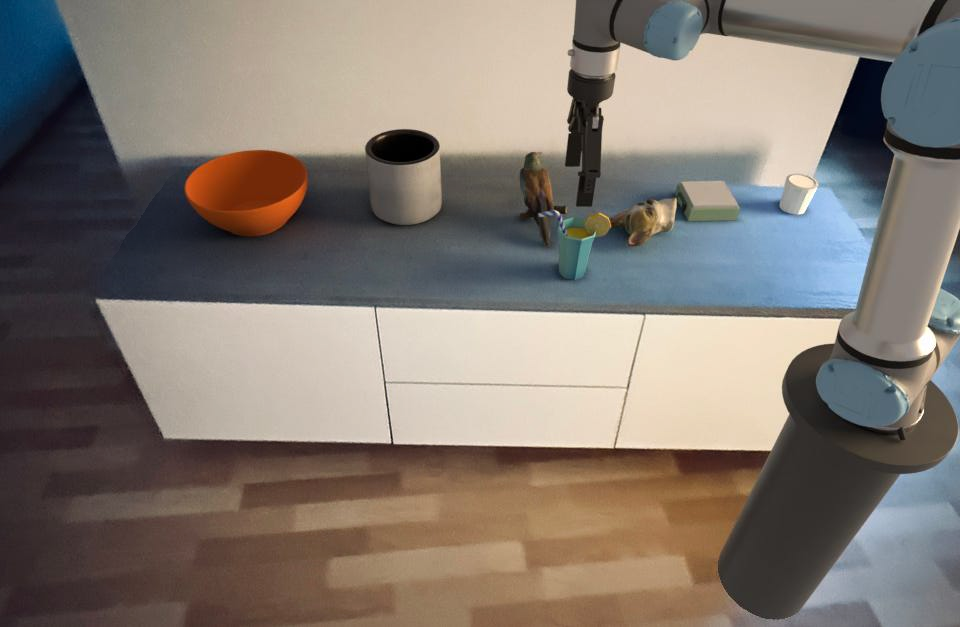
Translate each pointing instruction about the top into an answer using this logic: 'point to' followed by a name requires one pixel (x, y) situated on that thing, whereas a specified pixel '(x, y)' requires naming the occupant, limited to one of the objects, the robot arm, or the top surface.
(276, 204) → the bowl
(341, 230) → the top surface
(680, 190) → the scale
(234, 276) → the top surface
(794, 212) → the shot glass
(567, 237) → the cup
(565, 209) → the bird figurine
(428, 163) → the planter
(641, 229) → the ceramic sculpture
